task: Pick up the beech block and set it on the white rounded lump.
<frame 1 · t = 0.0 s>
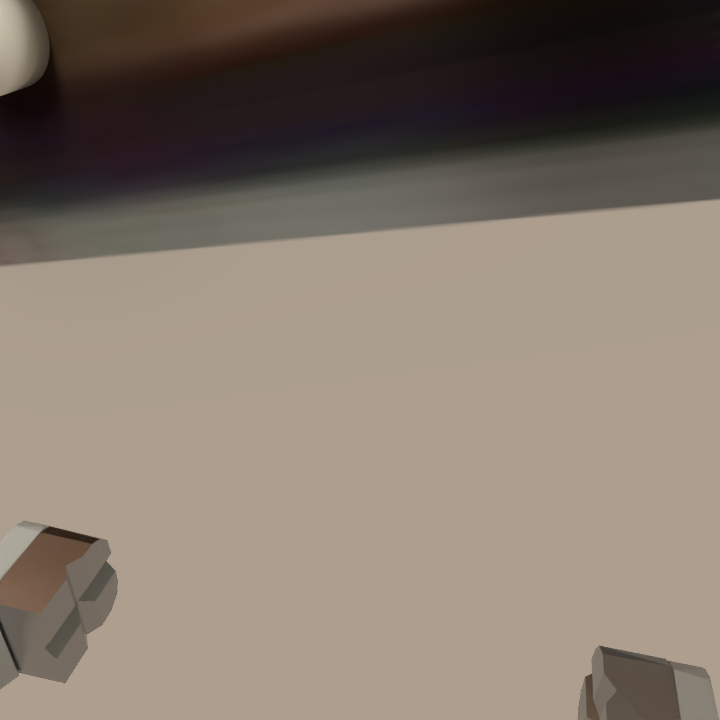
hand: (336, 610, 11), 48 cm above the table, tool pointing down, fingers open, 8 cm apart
white rounded lump: (1, 31, 58), on the table
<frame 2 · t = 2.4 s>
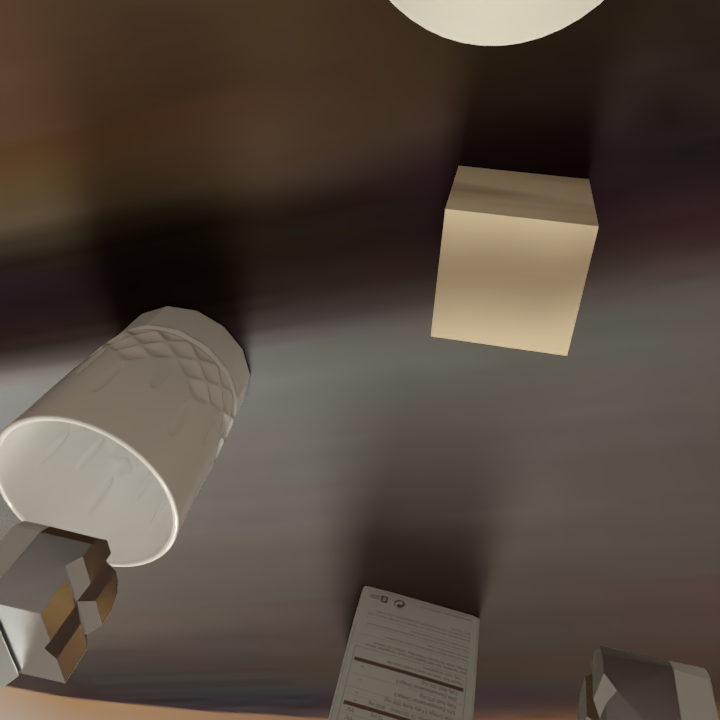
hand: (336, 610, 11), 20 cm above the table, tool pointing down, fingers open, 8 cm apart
white cup: (190, 361, 36), on the table
beech block: (512, 231, 28), on the table
supplement box: (411, 631, 43), on the table
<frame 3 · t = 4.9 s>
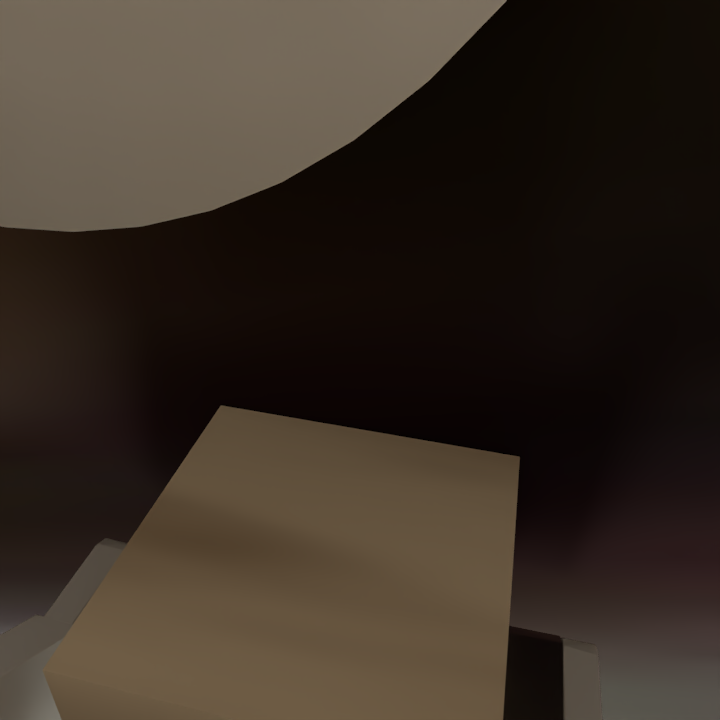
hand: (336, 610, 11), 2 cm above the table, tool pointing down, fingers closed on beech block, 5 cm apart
beech block: (360, 536, 13), on the table, touching gripper
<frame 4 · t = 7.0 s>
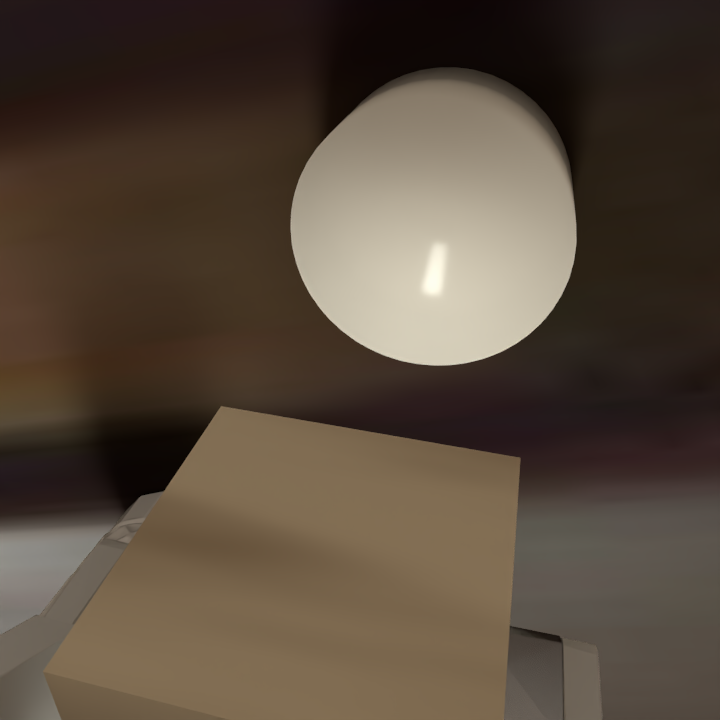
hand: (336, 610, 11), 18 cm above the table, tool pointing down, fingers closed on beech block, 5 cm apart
white cup: (184, 532, 39), on the table
beech block: (360, 537, 13), point 16 cm above the table, touching gripper
white rounded lump: (444, 197, 25), on the table
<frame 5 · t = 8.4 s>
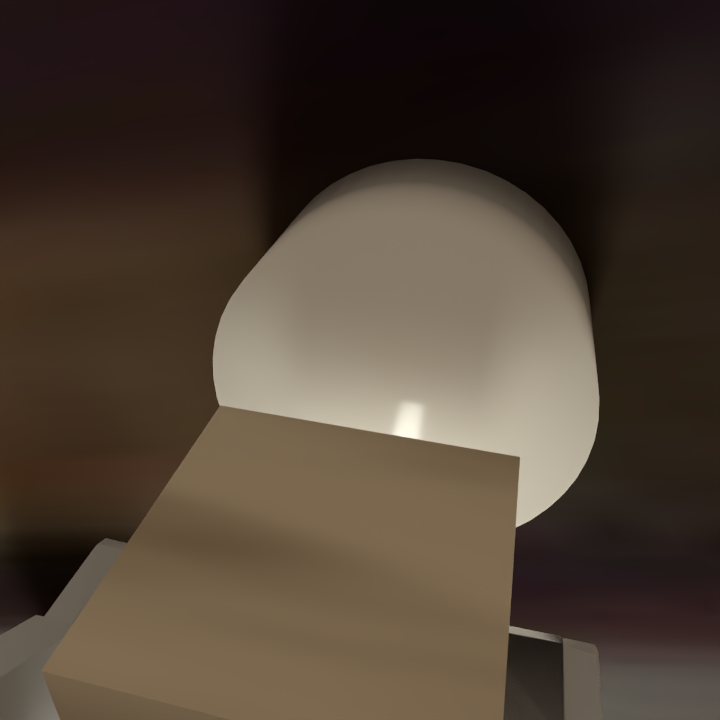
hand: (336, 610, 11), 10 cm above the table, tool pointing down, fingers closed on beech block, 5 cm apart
beech block: (360, 536, 13), point 8 cm above the table, touching gripper
white rounded lump: (424, 314, 20), on the table
when the fingers open (7 cm above the table, at t = 9.3 s): beech block drops 1 cm, resting on white rounded lump.
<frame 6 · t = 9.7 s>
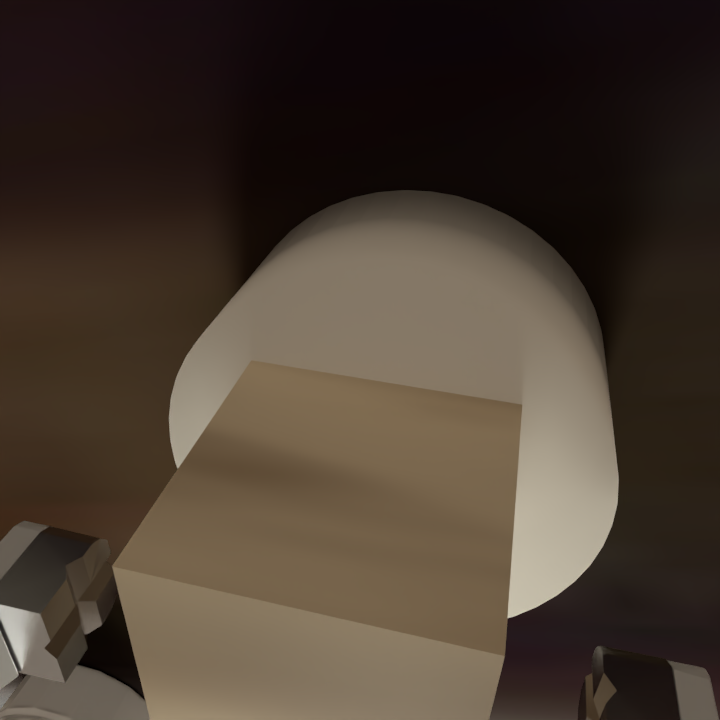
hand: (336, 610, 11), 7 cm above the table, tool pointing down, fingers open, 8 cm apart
white cup: (98, 702, 31), on the table
beech block: (376, 482, 14), point 4 cm above the table, touching white rounded lump
white rounded lump: (415, 361, 17), on the table, touching beech block
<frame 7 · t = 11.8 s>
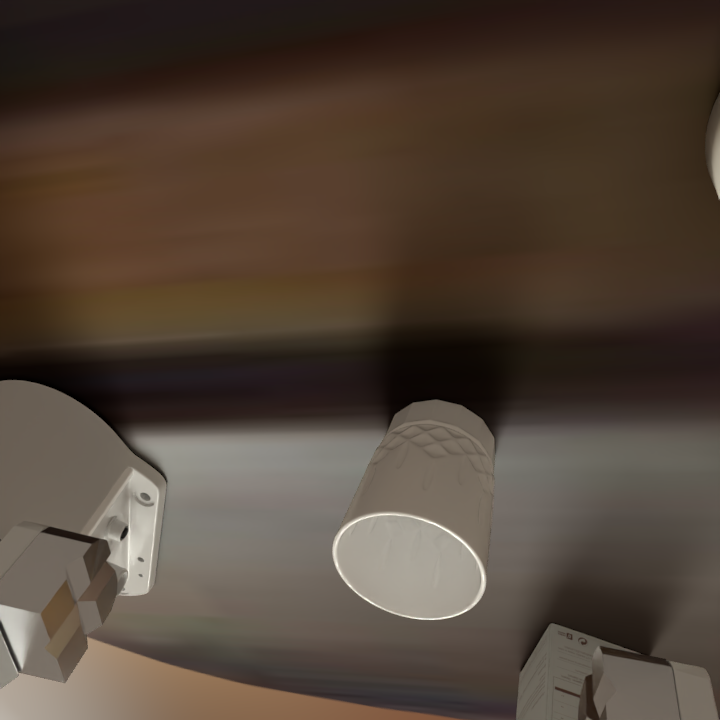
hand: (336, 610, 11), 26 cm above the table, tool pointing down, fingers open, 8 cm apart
white cup: (441, 439, 43), on the table
supplement box: (582, 661, 51), on the table
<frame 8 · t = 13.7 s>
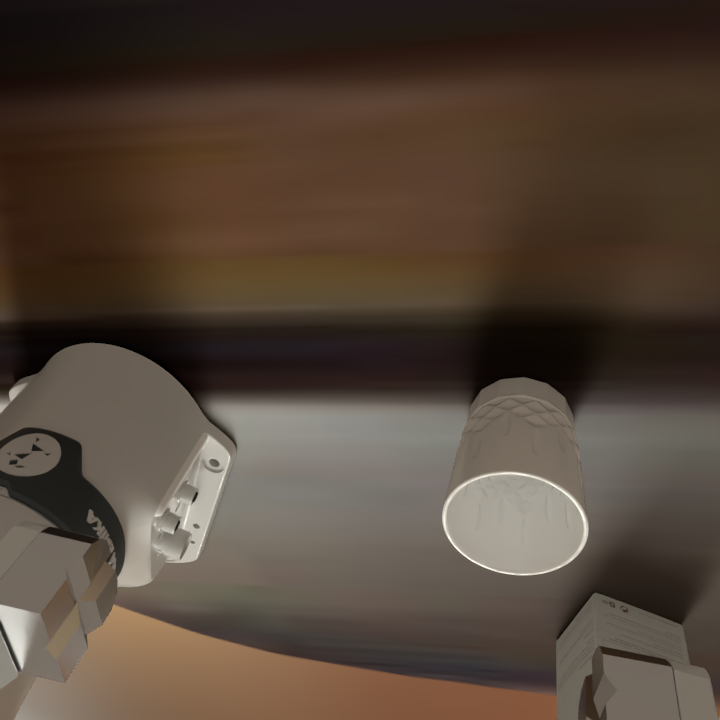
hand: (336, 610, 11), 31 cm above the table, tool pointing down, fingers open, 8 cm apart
white cup: (520, 415, 46), on the table
supplement box: (617, 629, 55), on the table
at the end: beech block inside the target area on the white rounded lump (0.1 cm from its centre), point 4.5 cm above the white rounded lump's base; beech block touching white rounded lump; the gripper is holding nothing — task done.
